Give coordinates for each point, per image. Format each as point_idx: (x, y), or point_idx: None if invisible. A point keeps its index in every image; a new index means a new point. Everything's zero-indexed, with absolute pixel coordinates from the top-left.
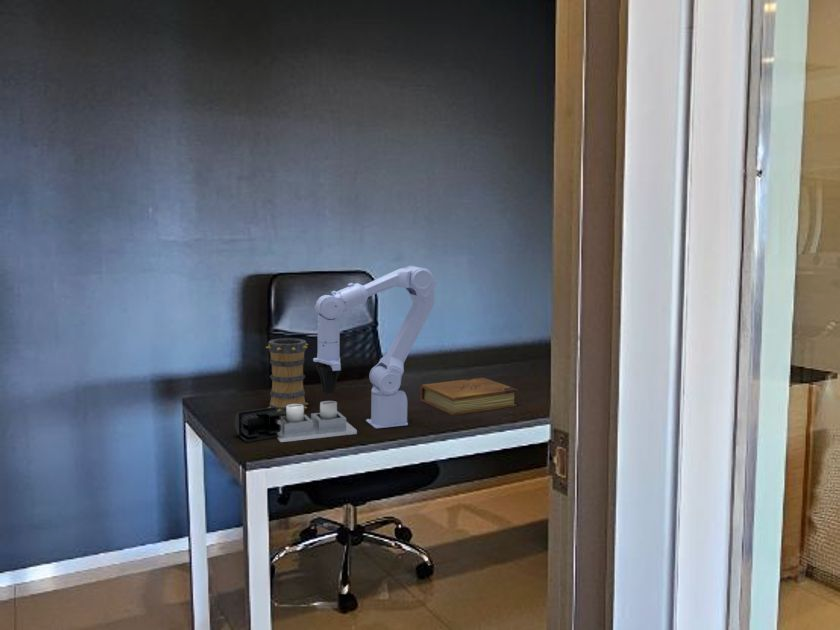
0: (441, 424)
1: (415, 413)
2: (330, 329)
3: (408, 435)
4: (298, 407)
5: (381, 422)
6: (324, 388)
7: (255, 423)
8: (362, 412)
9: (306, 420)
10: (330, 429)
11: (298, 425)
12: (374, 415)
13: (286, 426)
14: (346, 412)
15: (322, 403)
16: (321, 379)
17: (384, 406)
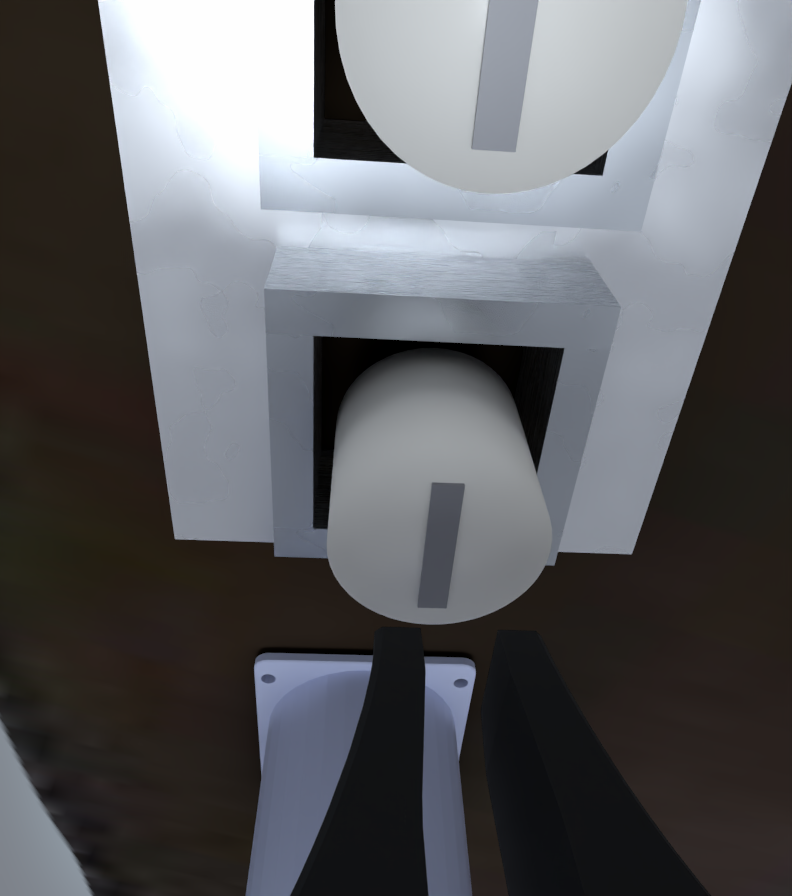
0: (235, 889)
1: (490, 869)
2: None
3: (64, 741)
4: (370, 46)
5: (279, 715)
6: (414, 683)
7: None
8: (698, 696)
9: (394, 158)
10: (266, 360)
11: None
12: (326, 733)
13: None
14: (777, 622)
15: (450, 481)
16: (579, 821)
17: (255, 850)
